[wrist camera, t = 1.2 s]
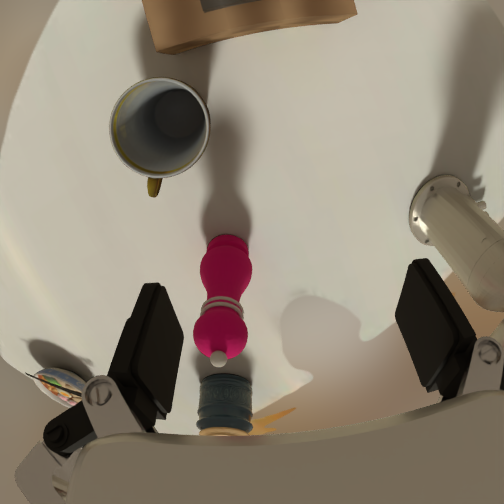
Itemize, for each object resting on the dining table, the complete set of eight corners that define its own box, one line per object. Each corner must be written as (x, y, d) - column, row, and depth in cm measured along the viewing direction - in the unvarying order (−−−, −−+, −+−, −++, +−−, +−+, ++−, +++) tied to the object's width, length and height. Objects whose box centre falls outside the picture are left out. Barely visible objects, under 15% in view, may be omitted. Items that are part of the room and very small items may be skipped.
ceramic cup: (148, 71, 29) (114, 74, 21) (227, 81, 30) (220, 84, 22) (136, 166, 36) (106, 197, 28) (207, 178, 37) (195, 213, 29)
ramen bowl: (50, 381, 75) (43, 400, 68) (29, 343, 62) (18, 365, 55) (114, 402, 78) (108, 423, 72) (102, 369, 66) (94, 394, 59)
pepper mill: (199, 234, 42) (173, 346, 26) (248, 228, 42) (248, 342, 26) (209, 272, 47) (193, 383, 30) (254, 267, 46) (257, 381, 30)
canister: (256, 394, 71) (257, 455, 56) (209, 397, 72) (205, 456, 58) (246, 370, 63) (246, 440, 49) (193, 374, 65) (185, 441, 50)
